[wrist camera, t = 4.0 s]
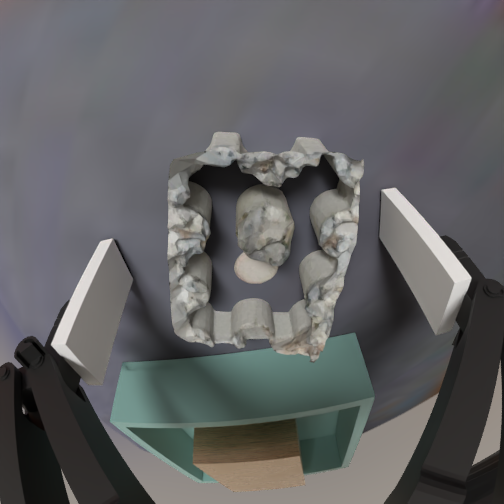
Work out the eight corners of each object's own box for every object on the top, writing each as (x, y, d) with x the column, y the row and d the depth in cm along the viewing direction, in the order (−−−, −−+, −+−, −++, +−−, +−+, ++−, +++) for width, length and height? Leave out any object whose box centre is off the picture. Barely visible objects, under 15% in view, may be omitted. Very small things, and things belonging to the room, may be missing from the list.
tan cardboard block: (289, 380, 21) (300, 455, 16) (298, 433, 28) (305, 485, 23) (196, 390, 22) (192, 463, 17) (232, 441, 29) (233, 491, 24)
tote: (354, 332, 20) (375, 396, 16) (340, 428, 31) (348, 466, 27) (122, 362, 21) (109, 421, 17) (198, 445, 32) (198, 482, 28)
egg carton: (306, 313, 19) (318, 369, 16) (180, 306, 18) (172, 364, 15) (358, 141, 13) (400, 179, 9) (182, 119, 12) (159, 149, 8)
